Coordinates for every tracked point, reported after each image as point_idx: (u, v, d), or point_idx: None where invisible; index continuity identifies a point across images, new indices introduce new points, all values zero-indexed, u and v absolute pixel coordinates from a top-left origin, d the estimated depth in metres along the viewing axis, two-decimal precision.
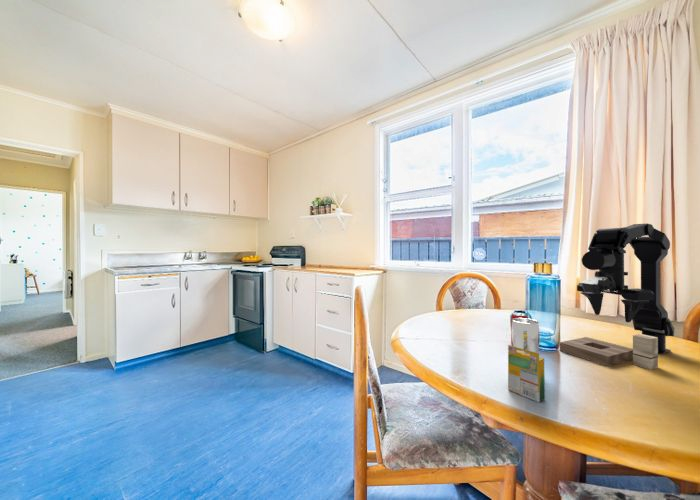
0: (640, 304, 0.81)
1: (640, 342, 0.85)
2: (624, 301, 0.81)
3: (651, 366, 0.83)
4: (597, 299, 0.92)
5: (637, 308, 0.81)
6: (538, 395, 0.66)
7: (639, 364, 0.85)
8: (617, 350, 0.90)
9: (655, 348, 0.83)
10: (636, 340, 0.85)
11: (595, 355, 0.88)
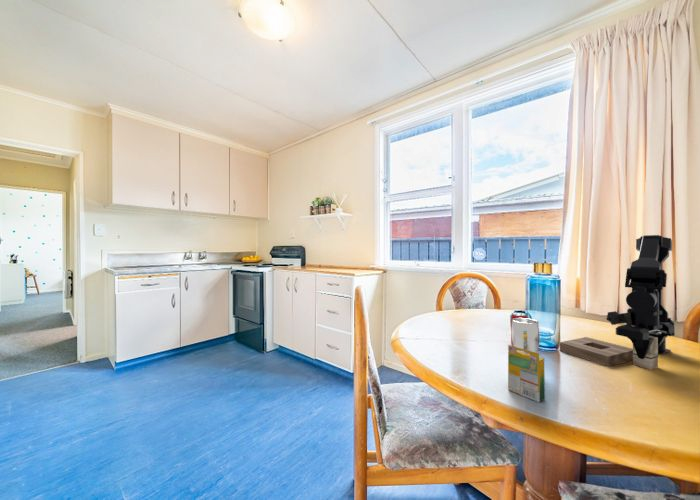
0: (646, 342, 0.82)
1: None
2: None
3: (651, 366, 0.83)
4: None
5: (644, 346, 0.83)
6: (538, 395, 0.66)
7: (639, 364, 0.85)
8: (617, 350, 0.90)
9: (655, 348, 0.83)
10: None
11: (595, 355, 0.88)
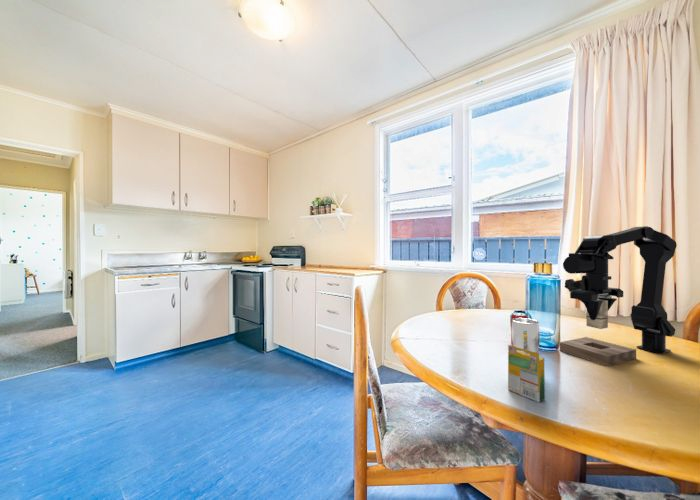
0: (596, 304, 0.91)
1: None
2: None
3: (601, 326, 0.92)
4: None
5: (595, 308, 0.91)
6: (538, 395, 0.66)
7: (591, 325, 0.94)
8: (617, 350, 0.90)
9: (605, 310, 0.92)
10: None
11: (595, 355, 0.88)
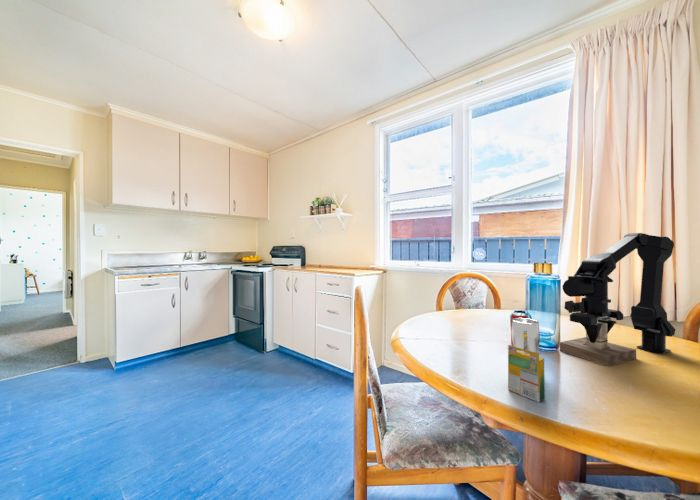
0: (595, 328, 0.91)
1: None
2: None
3: None
4: None
5: (594, 331, 0.92)
6: (538, 395, 0.66)
7: None
8: (617, 350, 0.90)
9: (605, 333, 0.93)
10: None
11: (595, 355, 0.88)
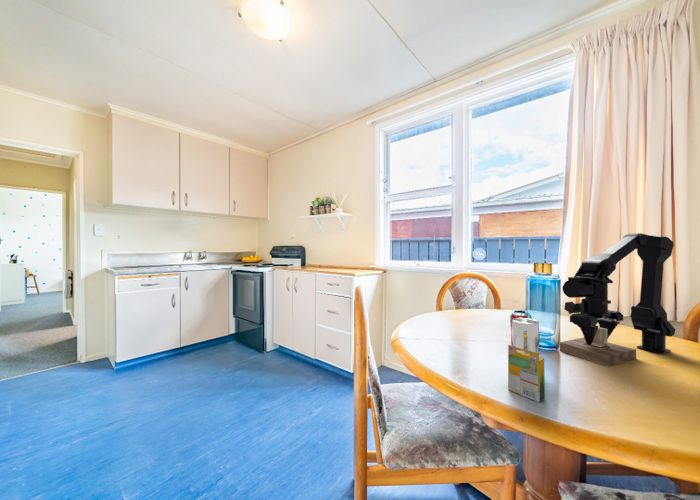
0: (592, 329, 0.90)
1: None
2: None
3: None
4: (605, 326, 0.96)
5: (591, 333, 0.91)
6: (538, 395, 0.66)
7: None
8: (617, 350, 0.90)
9: (605, 338, 0.93)
10: None
11: (595, 355, 0.88)
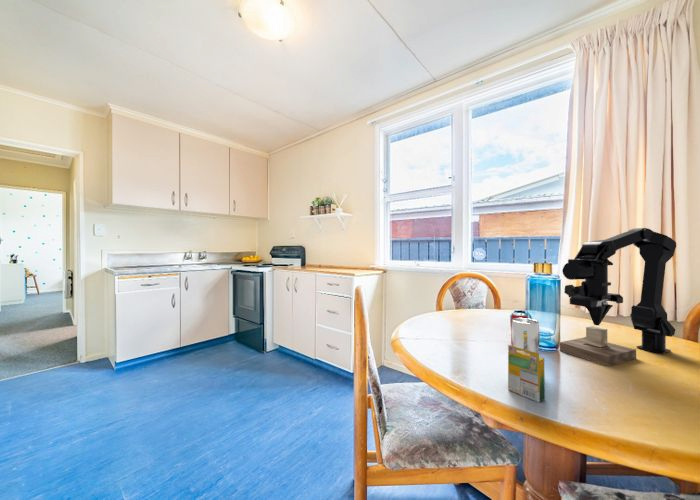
0: (599, 310, 0.92)
1: (592, 333, 0.94)
2: None
3: None
4: None
5: (598, 313, 0.92)
6: (538, 395, 0.66)
7: None
8: (617, 350, 0.90)
9: (605, 338, 0.93)
10: (588, 331, 0.95)
11: (595, 355, 0.88)
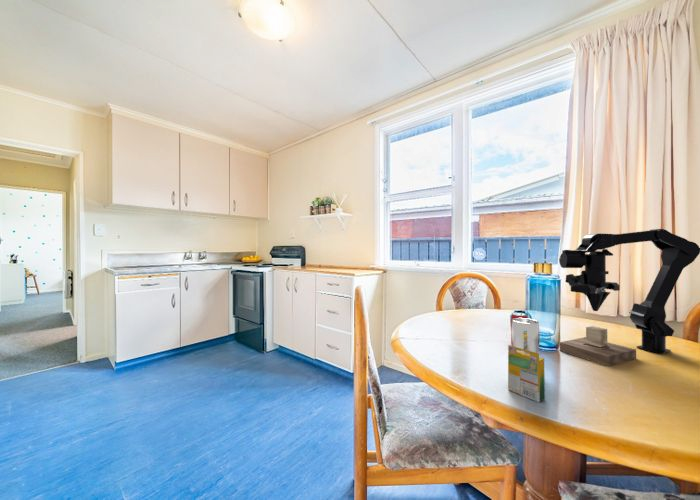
0: (598, 296, 0.99)
1: (592, 333, 0.94)
2: None
3: None
4: None
5: (597, 300, 1.00)
6: (538, 395, 0.66)
7: None
8: (617, 350, 0.90)
9: (605, 338, 0.93)
10: (588, 331, 0.95)
11: (595, 355, 0.88)
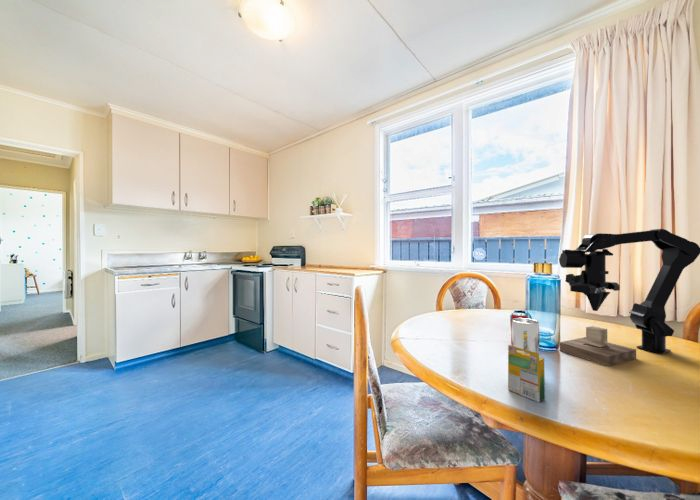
0: (597, 296, 1.00)
1: (592, 333, 0.94)
2: None
3: None
4: None
5: (596, 299, 1.00)
6: (538, 395, 0.66)
7: None
8: (617, 350, 0.90)
9: (605, 338, 0.93)
10: (588, 331, 0.95)
11: (595, 355, 0.88)
